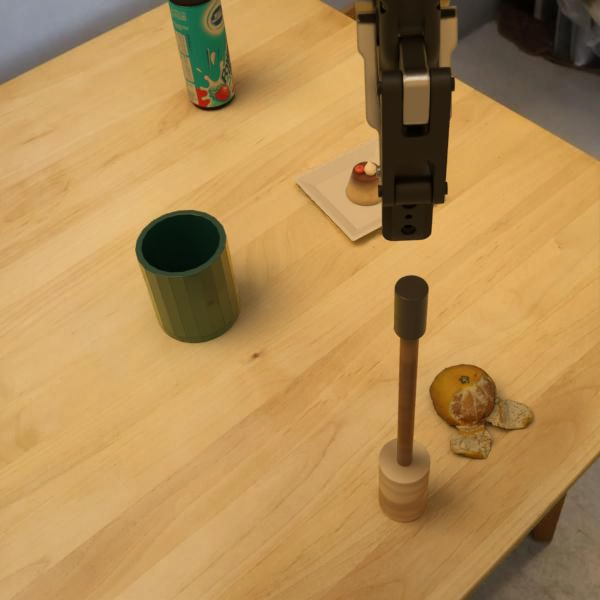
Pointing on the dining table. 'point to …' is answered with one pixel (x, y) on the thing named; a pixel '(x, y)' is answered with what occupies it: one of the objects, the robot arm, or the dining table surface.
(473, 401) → the fruit
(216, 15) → the beverage can
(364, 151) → the dessert
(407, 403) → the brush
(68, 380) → the dining table surface
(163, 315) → the cup
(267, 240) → the dining table surface
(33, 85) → the dining table surface
